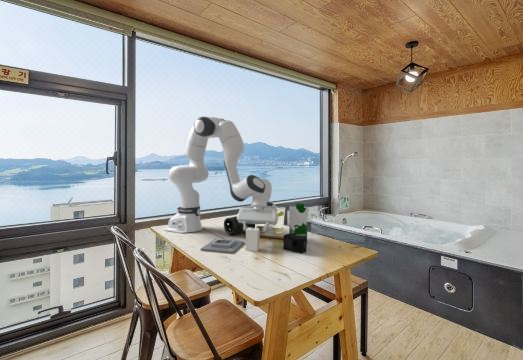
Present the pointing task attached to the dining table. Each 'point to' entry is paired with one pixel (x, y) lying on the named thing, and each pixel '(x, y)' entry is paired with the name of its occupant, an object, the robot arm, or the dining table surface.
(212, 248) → the socket plate
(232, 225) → the muzzle brake
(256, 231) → the charger brick
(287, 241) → the digital camera
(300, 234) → the milk carton
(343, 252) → the dining table surface
